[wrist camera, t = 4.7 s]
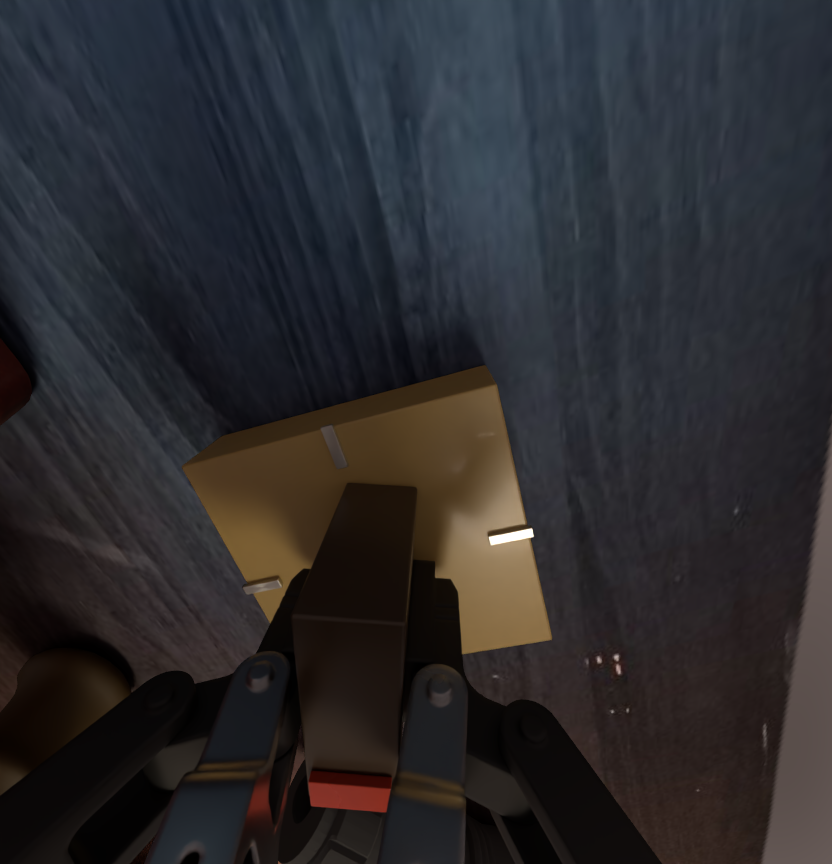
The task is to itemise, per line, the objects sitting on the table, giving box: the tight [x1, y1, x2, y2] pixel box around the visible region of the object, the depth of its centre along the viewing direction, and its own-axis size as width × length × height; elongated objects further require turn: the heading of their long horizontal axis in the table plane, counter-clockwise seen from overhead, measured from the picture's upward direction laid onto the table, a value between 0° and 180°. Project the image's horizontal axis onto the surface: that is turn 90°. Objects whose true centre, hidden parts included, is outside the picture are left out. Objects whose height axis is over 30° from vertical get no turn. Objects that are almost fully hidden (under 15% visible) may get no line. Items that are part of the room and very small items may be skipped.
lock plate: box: [182, 365, 552, 654], centre depth 14 cm, size 10×10×3 cm
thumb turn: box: [291, 483, 417, 812], centre depth 11 cm, size 6×2×5 cm, turn 177°
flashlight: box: [278, 760, 515, 864], centre depth 20 cm, size 15×5×5 cm, turn 48°
